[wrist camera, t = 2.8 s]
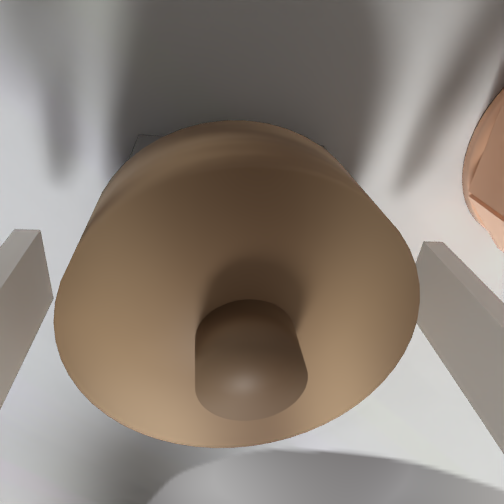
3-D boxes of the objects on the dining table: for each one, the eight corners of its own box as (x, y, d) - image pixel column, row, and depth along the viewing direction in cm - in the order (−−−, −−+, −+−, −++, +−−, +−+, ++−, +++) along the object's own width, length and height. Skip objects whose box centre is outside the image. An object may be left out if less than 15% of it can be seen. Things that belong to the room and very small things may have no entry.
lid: (102, 362, 17) (65, 507, 12) (69, 108, 12) (-17, 186, 7) (338, 357, 18) (388, 484, 14) (402, 130, 13) (520, 207, 8)
